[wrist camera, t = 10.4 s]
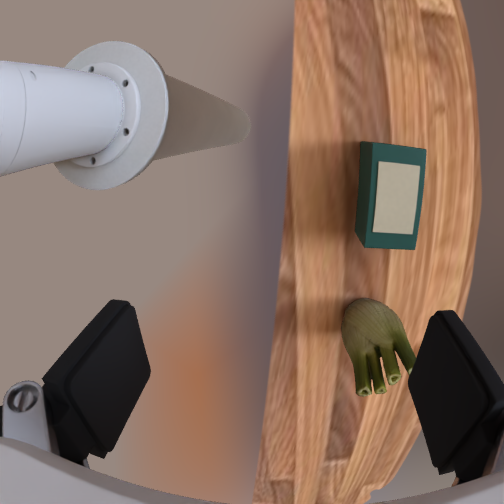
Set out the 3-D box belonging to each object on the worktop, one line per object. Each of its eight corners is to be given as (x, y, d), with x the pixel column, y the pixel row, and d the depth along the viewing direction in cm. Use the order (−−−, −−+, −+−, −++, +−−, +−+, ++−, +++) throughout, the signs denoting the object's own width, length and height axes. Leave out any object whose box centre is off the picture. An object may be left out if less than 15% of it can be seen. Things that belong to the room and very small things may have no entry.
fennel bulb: (391, 292, 31) (427, 363, 20) (384, 329, 33) (410, 403, 22) (341, 293, 32) (360, 368, 21) (337, 330, 34) (349, 408, 23)
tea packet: (360, 141, 26) (372, 142, 22) (408, 146, 26) (427, 149, 21) (354, 231, 29) (364, 248, 25) (400, 234, 29) (415, 250, 25)
